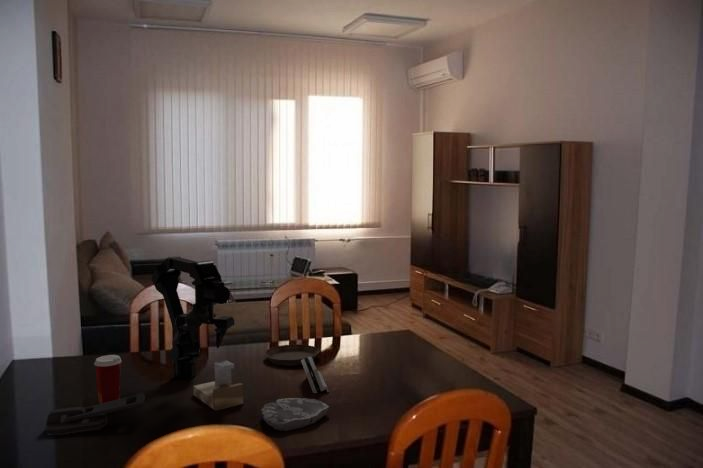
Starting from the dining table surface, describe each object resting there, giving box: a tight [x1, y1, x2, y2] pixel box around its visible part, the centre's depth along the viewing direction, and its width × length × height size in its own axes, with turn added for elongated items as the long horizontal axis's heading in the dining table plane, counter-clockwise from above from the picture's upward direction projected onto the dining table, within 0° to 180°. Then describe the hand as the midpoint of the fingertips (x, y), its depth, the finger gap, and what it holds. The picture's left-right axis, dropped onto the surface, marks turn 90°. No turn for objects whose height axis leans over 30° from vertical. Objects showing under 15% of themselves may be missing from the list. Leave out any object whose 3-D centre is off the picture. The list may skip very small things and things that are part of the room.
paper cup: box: [93, 354, 122, 404], centre depth 174 cm, size 8×8×14 cm
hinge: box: [301, 356, 330, 394], centre depth 190 cm, size 17×5×10 cm, turn 11°
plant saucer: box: [264, 343, 320, 367], centre depth 219 cm, size 21×21×3 cm
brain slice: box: [260, 397, 330, 432], centre depth 163 cm, size 20×17×3 cm
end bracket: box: [214, 360, 235, 389], centre depth 173 cm, size 5×4×12 cm
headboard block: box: [193, 380, 244, 411], centre depth 177 cm, size 16×9×6 cm, turn 38°
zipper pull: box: [45, 392, 146, 436], centre depth 159 cm, size 9×7×25 cm
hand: (205, 346), depth 189 cm, fingers open, 9 cm apart
